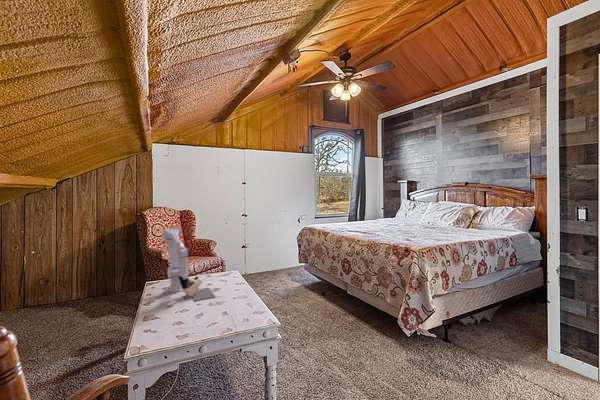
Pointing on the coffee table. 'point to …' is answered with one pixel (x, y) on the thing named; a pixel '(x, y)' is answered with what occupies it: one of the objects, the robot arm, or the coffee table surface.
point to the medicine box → (192, 286)
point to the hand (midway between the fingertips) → (183, 287)
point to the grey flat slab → (203, 294)
